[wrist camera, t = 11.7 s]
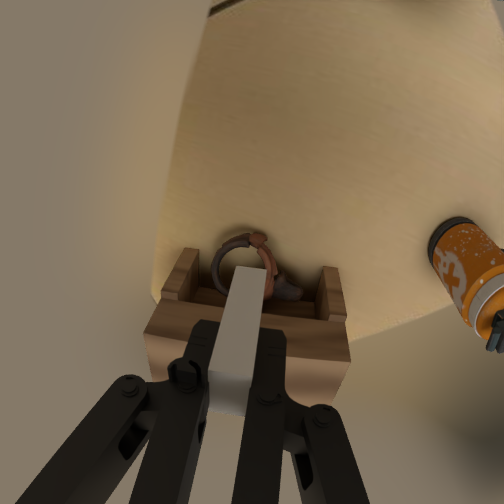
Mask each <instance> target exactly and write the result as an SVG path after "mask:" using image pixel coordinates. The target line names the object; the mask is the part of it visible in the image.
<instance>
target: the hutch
mask: <svg viewBox="0 0 504 504" xmlns="http://www.w3.org/2000/svg"><path fill="white" fill-rule="evenodd" d="M227 298H228V297H226V296H225V295H223V294H221V293H219V291H218V290H217V289H210V288H203V287H199V250H198V249H190V248H184V250H183V252H182V254H181V255H180V257H179V259H178V261H177V262H176V264H175V266H174V268H173V270H172V271H171V273H170V275H169V277H168V279H167V280H166V282H165V284H164V286H163V288H162V289H161V299H160V301H159V303H158V305H157V307H156V309H155V311H154V313H153V315H152V317H151V319H150V321H149V322H148V325H147V326H146V328H145V330H144V333H143V334H144V340H145V346H146V351H147V356H148V361H149V366H150V370H151V375H152V380H153V382H160V381H165V380H167V379H169V377H168V370H167V367H168V365H169V364H170V362H172V361H173V360H175V359H177V358H181V357H183V354H184V351H185V348H186V345H187V343H188V340H189V337H190V334H191V331H192V328H193V326H194V325H195V324H196V323H197V322H198V321H199V320H200V319H204V320H210V321H217V322H221V320H222V316H223V312H224V309H225V305H226V302H227ZM346 318H347V313H346V307H345V302H344V297H343V292H342V287H341V282H340V277H339V273H338V268H334V267H326V266H323V270H322V274H321V278H320V282H319V286H318V290H317V294H316V298H315V302H307V301H296V302H294V301H289V300H281V299H277V298H270V299H269V300H268V301H266V302H264V303H263V304H262V311H261V319H260V326H259V327H263V328H271V329H279V330H283V332H284V334H285V336H286V338H287V349H286V371H285V390H286V392H287V394H288V395H289V397H290V398H291V399H293V400H294V401H296V402H298V403H300V404H302V405H305V406H307V407H311V406H313V405H316V404H326V405H329V406H330V405H331V403H332V401H333V399H334V397H335V395H336V393H337V391H338V389H339V387H340V385H341V382H342V381H343V379H344V377H345V374H346V372H347V370H348V368H349V366H350V363H351V359H350V352H349V345H348V339H347V333H346V327H345V321H346Z"/></svg>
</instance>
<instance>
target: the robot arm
mask: <svg viewBox="0 0 504 504" xmlns="http://www.w3.org/2000/svg"><path fill="white" fill-rule="evenodd" d="M499 1H504V0H499ZM266 273H267V270H266V269H258V268H251V267H243V266H236V269H235V272H234V276H233V280H232V283H231V287H230V291H229V294H228V298H227V302H226V305H225V309H224V312H223V316H222V320H221V322H217V321H210V320H204V319H200V320H199V321H198V322H197V323H196V324H195V325H194V326H193V328H192V331H191V334H190V337H189V340H188V343H187V345H186V348H185V351H184V354H183V357H181V358H177V359H175V360H173V361H172V362H170V364H169V365H168V367H167V370H168V377H169V379H167V380H165V381H160V382H145V381H144V380H143V379H142V378H141V377H139V376H136V375H124V376H121V377H119V378H118V379H117V380H116V381H115V382H114V383H113V384H112V385H111V386H110V388H109V389H108V390H107V391H106V392H105V394H104V395H103V396H102V397H101V398H100V400H99V401H98V402H97V403H96V405H95V406H94V407H93V408H92V409H91V410H90V412H89V413H88V414H87V415H86V416H85V418H84V419H83V420H82V421H81V422H80V424H79V425H78V426H77V427H76V428H75V430H74V431H73V432H72V433H71V435H70V436H69V437H68V438H67V439H66V441H65V442H64V443H63V444H62V446H61V447H60V448H59V449H58V450H57V452H56V453H55V454H54V456H53V457H52V458H51V459H50V460H49V462H48V463H47V464H46V465H45V467H44V468H43V469H42V470H41V472H40V473H39V474H38V475H37V477H36V478H35V479H34V480H33V482H32V483H31V484H30V485H29V487H28V488H27V489H26V490H25V492H24V493H23V494H22V495H21V497H20V498H19V499H18V500H17V502H16V503H15V504H105V503H106V501H107V500H108V498H109V497H110V495H111V494H112V492H113V491H114V490H115V488H116V487H117V485H118V484H119V482H120V481H121V479H122V478H123V476H124V475H125V473H126V472H127V471H128V469H129V467H130V466H131V465H132V463H133V462H134V460H135V459H136V457H137V456H138V455H139V453H140V452H141V450H142V449H143V447H144V446H145V444H146V443H147V441H148V440H149V442H148V445H147V448H146V451H145V454H144V457H143V460H142V463H141V466H140V469H139V472H138V476H137V479H136V482H135V485H134V488H133V491H132V494H131V498H130V501H129V504H188V501H189V497H190V492H191V488H192V484H193V479H194V475H195V470H196V466H197V461H198V457H199V453H200V449H201V444H202V440H203V436H204V431H205V427H206V416H207V412H208V407H209V411H213V412H219V413H225V414H231V415H238V416H245V421H244V428H243V434H242V440H241V447H240V454H239V460H238V466H237V472H236V478H235V484H234V490H233V497H232V503H231V504H278V502H279V491H280V479H281V466H282V453H283V450H286V451H288V452H290V453H291V457H292V462H293V466H294V470H295V474H296V479H297V483H298V488H299V492H300V496H301V501H302V504H370V502H369V499H368V497H367V493H366V490H365V487H364V484H363V481H362V478H361V475H360V472H359V469H358V466H357V463H356V460H355V457H354V454H353V451H352V448H351V445H350V442H349V440H348V437H347V434H346V431H345V428H344V425H343V422H342V419H341V417H340V415H339V413H338V411H337V410H336V409H334V408H333V407H332V406H329V405H326V404H316V405H313V406H311V407H307V406H305V405H302V404H300V403H298V402H296V401H294V400H293V399H291V398H290V397H289V395H288V394H287V392H286V390H285V371H286V349H287V338H286V336H285V334H284V332H283V330H279V329H271V328H263V327H259V326H260V319H261V311H262V304H263V296H264V288H265V281H266ZM149 438H150V439H149Z"/></svg>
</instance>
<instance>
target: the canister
mask: <svg viewBox="0 0 504 504" xmlns="http://www.w3.org/2000/svg"><path fill="white" fill-rule="evenodd" d="M429 260H430V263H431V265H432V267H433V268H434V270H435V271H436V273H437V275H438V276H439V278H440V280H441V281H442V283H443V285H444V286H445V288H446V290H447V291H448V293H449V295H450V297H451V298H452V300H453V302H454V304H455V305H456V307H457V309H458V311H459V313H460V314H461V316H462V318H463V320H464V322H465V323H466V324H467V325H468V326H470V327H472V328H474V330H475V332H476V333H477V335H478V336H480V337H482V338H484V339H486V340H488V342H487V345H486V350H487V351H491V352H492V351H494V350H495V349H496V350H497V352H498V353H499V354H500V353H503V352H504V249H500V248H499V247H498V246H497V245H496V244H495V243H494V242H493V241H492V240H491V239H490V238H489V237H488V236H487V235H486V234H485V233H484V232H483V231H482V230H481V229H480V228H479V227H478V226H477V225H476V224H475V223H474V222H473V221H471V220H469V219H467V218H456V219H453V220H450V221H448V222H446V223H445V224H444V225H442V226H441V227H440V228H439V229H438V230H437V232H436V233H435V234H434V236H433V238H432V240H431V242H430V246H429Z"/></svg>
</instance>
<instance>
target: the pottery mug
mask: <svg viewBox="0 0 504 504" xmlns="http://www.w3.org/2000/svg"><path fill="white" fill-rule="evenodd" d="M264 241H267V237H266V236H264V235H261V234H258V233H253V234H250V233H245V234H242V235H239V236H236V237H233V238H231V239H229V240H228V241H226V242H225V243H224V244H223V245H222V248H220V249H218V251H217V252H216V254H215V257H214V259H213V262H212V265H211V272H212V277H213V281H214V284H215V286H216V289H217V290H218V291H219V293H221V294H223V295H225V296H226V297H228V294H229V291H230V290H228V289H227V288H226V287H225V286H224V285H223V283H222V281H221V279H220V276H219V265H220V262H221V260H222V258H223V257H224V255H225V254H226V253H227V252H229V251H230V250H232V249H234V248H238V247H247V248H249V246H250V245H251V246H253V247H255V248H257V249H258V250H257V253H258V254H259V255H260V257H261V258H262V260H263V262H264V265H265V269H266V270H267V273H266V281H265V288H264V296H263V303H264V302H266V301H268V300H269V299H270V298H277V299H281V300H289V301H294V302H296V301H298V300H299V299H300V298H301V297H302V295H303V290H302V288H301V287H300V286H299V285H298V284H296V283H294V282H293V281H291V280H290V279H289V278H288V277H287V276H286V274H285V271H284V270H281V271H280V275H279V276H278V277H277V278H276V280H275V282H274V276H275V275H277V274H278V271H277V266H276V263H275V260H274V258H273V256H272V253H271V251H270V250H269V248H268V247H267V246H266V245H265V244H264Z"/></svg>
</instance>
